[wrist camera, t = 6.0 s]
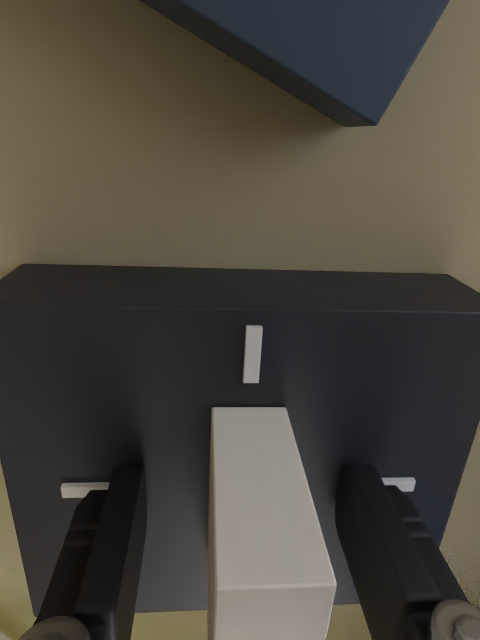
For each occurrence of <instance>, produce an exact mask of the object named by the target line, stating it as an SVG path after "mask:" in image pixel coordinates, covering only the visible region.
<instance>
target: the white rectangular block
mask: <svg viewBox="0 0 480 640" xmlns="http://www.w3.org/2000/svg"><path fill="white" fill-rule="evenodd" d="M207 582H208V640H326V636H327V631H328V626H329V621H330V616H331V611H332V606H333V601H334V596H335V591H336V586H337V583H336V579H335V576H334V572H333V569H332V565H331V562H330V558H329V555H328V552H327V548H326V545H325V541H324V538H323V534H322V531H321V527H320V524H319V520H318V517H317V513H316V510H315V507H314V503H313V500H312V496H311V493H310V489H309V486H308V482H307V479H306V475H305V472H304V468H303V465H302V462H301V458H300V455H299V451H298V448H297V444H296V441H295V437H294V434H293V430H292V427H291V423H290V420H289V417H288V413H287V410H286V408H285V407H213V408H212V409H211V440H210V478H209V515H208V553H207Z"/></svg>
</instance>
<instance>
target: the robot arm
mask: <svg viewBox="0 0 480 640" xmlns="http://www.w3.org/2000/svg"><path fill="white" fill-rule="evenodd" d="M335 525H336V530H337V534H338V537H339V540H340V543H341V546H342V549H343V552H344V555H345V558H346V562H347V565H348V568H349V571H350V574H351V577H352V580H353V583H354V586H355V589H356V592H357V595H358V598H359V601H360V604H361V607H362V610H363V613H364V616H365V619H366V622H367V625H368V628H369V631H370V634H371V637H372V640H480V608H479V607H477V606H475V605H473V604H471V603H470V602H469V601H468V599H467V598H466V596H465V595H464V593H463V591H462V589H461V587H460V586H459V584H458V582H457V580H456V578H455V577H454V575H453V573H452V571H451V570H450V568H449V566H448V564H447V562H446V561H445V559H444V557H443V555H442V554H441V552H440V550H439V548H438V546H437V545H436V543H435V541H434V539H433V538H431V536H430V532H429V530H428V529H427V527H426V525H425V523H424V522H422V518H421V516H420V514H419V513H418V511H417V509H416V507H415V505H414V504H413V502H412V500H411V499H410V498H409V497H407V496H406V495H405V494H404V493H403V492H402V491H401V490H400V489H399V488H398V487H397V486H396V485H384V483H383V481H382V479H381V477H380V475H379V473H378V471H377V469H376V467H375V466H374V465H372V464H367V465H344V466H343V468H342V471H341V476H340V482H339V487H338V493H337V499H336V504H335ZM146 529H147V499H146V479H145V468H144V467H115V468H114V469H113V472H112V476H111V479H110V483H109V486H108V490H90V491H89V492H88V494H87V495H86V496H85V497H84V498H83V499H82V501H81V502H80V503H79V504H78V505H77V506H76V509H75V511H74V514H73V517H72V520H71V523H70V526H69V531H68V532H67V534H66V537H65V540H64V543H63V548H62V549H61V552H60V555H59V557H58V560H57V563H56V566H55V569H54V572H53V575H52V577H51V580H50V583H49V586H48V589H47V592H46V595H45V598H44V600H43V603H42V606H41V609H40V612H39V614H38V617H37V619H36V621H35V623H34V624H33V626H32V627H31V628H30V629H29V630H28V631H26V632H25V633H24V634H23V635H22V636H21V637H20V638H19V640H130V639H131V632H132V625H133V619H134V612H135V605H136V599H137V592H138V585H139V579H140V572H141V565H142V559H143V552H144V545H145V539H146Z"/></svg>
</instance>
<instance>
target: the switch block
mask: <svg viewBox="0 0 480 640" xmlns="http://www.w3.org/2000/svg"><path fill="white" fill-rule="evenodd" d="M139 1H141V2H143V3H144V4H146V5H147V6H149V7H151V8H152V9H154V10H156V11H157V12H159V13H160V14H162V15H164V16H165V17H167V18H169V19H170V20H172V21H173V22H175V23H177V24H178V25H180V26H181V27H183V28H185V29H186V30H188V31H190V32H191V33H193V34H194V35H196V36H198V37H199V38H201V39H203V40H204V41H206V42H207V43H209V44H211V45H212V46H214V47H216V48H217V49H219V50H220V51H222V52H224V53H225V54H227V55H228V56H230V57H232V58H233V59H235V60H237V61H238V62H240V63H241V64H243V65H245V66H246V67H248V68H250V69H251V70H253V71H254V72H256V73H258V74H259V75H261V76H263V77H264V78H266V79H267V80H269V81H271V82H272V83H274V84H275V85H277V86H279V87H280V88H282V89H284V90H285V91H287V92H288V93H290V94H292V95H293V96H295V97H297V98H298V99H300V100H301V101H303V102H305V103H306V104H308V105H310V106H311V107H313V108H314V109H316V110H318V111H319V112H321V113H322V114H324V115H326V116H327V117H329V118H331V119H332V120H334V121H335V122H337V123H339V124H340V125H342V126H344V127H357V126H376V125H377V124H378V123H379V121H380V119H381V117H382V116H383V114H384V112H385V111H386V109H387V107H388V105H389V104H390V102H391V100H392V99H393V97H394V95H395V93H396V92H397V90H398V88H399V87H400V85H401V83H402V81H403V80H404V78H405V76H406V74H407V73H408V71H409V69H410V68H411V66H412V64H413V62H414V61H415V59H416V57H417V56H418V54H419V52H420V50H421V49H422V47H423V45H424V44H425V42H426V40H427V38H428V37H429V35H430V33H431V32H432V30H433V28H434V26H435V25H436V23H437V21H438V20H439V18H440V16H441V14H442V13H443V11H444V9H445V7H446V6H447V4H448V2H449V1H450V0H139Z"/></svg>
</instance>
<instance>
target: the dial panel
mask: <svg viewBox="0 0 480 640" xmlns="http://www.w3.org/2000/svg"><path fill="white" fill-rule="evenodd" d="M213 407H285V408H286V410H287V413H288V417H289V420H290V423H291V427H292V430H293V434H294V437H295V441H296V444H297V448H298V451H299V455H300V458H301V462H302V465H303V468H304V472H305V475H306V479H307V482H308V486H309V489H310V493H311V496H312V500H313V503H314V507H315V510H316V513H317V517H318V520H319V524H320V527H321V531H322V534H323V538H324V541H325V545H326V548H327V552H328V555H329V558H330V562H331V565H332V569H333V572H334V576H335V579H336V583H337V586H336V591H335V596H334V601H333V605H339V604H360V601H359V598H358V595H357V592H356V589H355V586H354V583H353V580H352V577H351V574H350V571H349V568H348V565H347V562H346V558H345V555H344V552H343V549H342V546H341V543H340V540H339V537H338V534H337V530H336V525H335V504H336V499H337V493H338V487H339V482H340V476H341V471H342V468H343V466H344V465H367V464H372V465H374V466H375V467H376V469H377V471H378V473H379V475H380V477H381V479H382V481H383V483H384V485H396V486H397V487H398V488H399V489H400V490H401V491H402V492H403V493H404V494H405V495H406V496H407V497H409V498H410V499H411V500H412V502H413V504H414V505H415V507H416V509H417V511H418V513H419V514H420V516H421V518H422V522H424V523H425V525H426V527H427V529H428V530H429V532H430V536H431V538H433V539H434V541H435V543H436V545H437V546H438V548H439V546H440V543H441V540H442V537H443V534H444V531H445V527H446V524H447V521H448V518H449V515H450V512H451V509H452V506H453V502H454V499H455V496H456V493H457V490H458V487H459V484H460V481H461V477H462V474H463V471H464V468H465V465H466V462H467V459H468V455H469V452H470V449H471V446H472V443H473V440H474V437H475V434H476V430H477V427H478V424H479V421H480V293H479V292H477V291H475V290H474V289H472V288H470V287H469V286H467V285H465V284H464V283H462V282H460V281H458V280H457V279H455V278H453V277H452V276H450V275H448V274H419V273H378V272H337V271H297V270H256V269H215V268H175V267H134V266H93V265H53V264H22V265H20V266H19V267H18V268H16V269H15V270H13V271H12V272H11V273H9V274H8V275H6V276H5V277H4V278H2V279H1V280H0V460H1V465H2V469H3V474H4V478H5V483H6V488H7V492H8V497H9V502H10V506H11V511H12V515H13V520H14V525H15V529H16V534H17V539H18V543H19V548H20V552H21V557H22V562H23V566H24V571H25V576H26V580H27V585H28V589H29V594H30V599H31V603H32V608H33V613H34V616H35V617H38V614H39V612H40V609H41V606H42V603H43V600H44V598H45V595H46V592H47V589H48V586H49V583H50V580H51V577H52V575H53V572H54V569H55V566H56V563H57V560H58V557H59V555H60V552H61V549H62V548H63V543H64V540H65V537H66V534H67V532H68V531H69V526H70V523H71V520H72V517H73V514H74V511H75V509H76V506H77V505H78V504H79V503H80V502H81V501H82V499H83V498H84V497H85V496H86V495H87V494H88V492H89V491H90V490H108V486H109V483H110V479H111V476H112V472H113V469H114V468H115V467H144V468H145V479H146V499H147V529H146V539H145V545H144V552H143V559H142V565H141V572H140V579H139V585H138V592H137V599H136V605H135V612H134V613H144V612H168V611H192V610H208V582H207V553H208V515H209V478H210V440H211V409H212V408H213Z"/></svg>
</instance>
